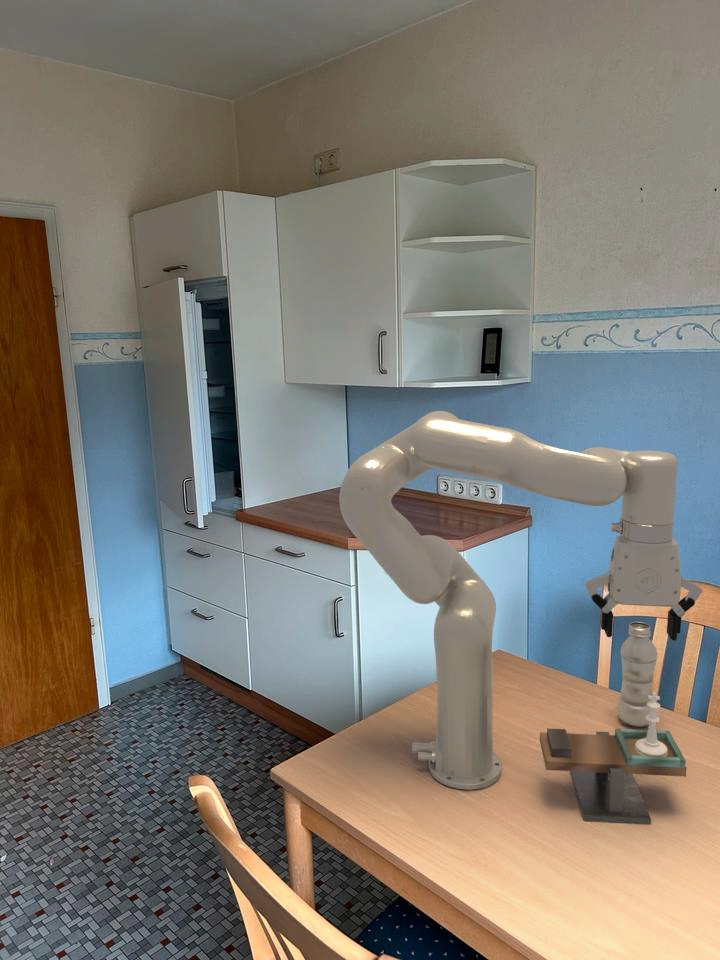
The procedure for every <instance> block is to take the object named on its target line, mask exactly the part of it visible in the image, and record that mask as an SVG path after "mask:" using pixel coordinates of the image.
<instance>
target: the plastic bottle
mask: <svg viewBox="0 0 720 960" xmlns="http://www.w3.org/2000/svg"><path fill="white" fill-rule="evenodd" d="M628 635H629V636H628V637H627V638H626V639H625V640H624V641H623V643H622V644H621V647H620V658H621V659H620V660H621V667H622V668H621V669H622V672H621V673H622V676H621V677H622V680H621V681H622V682H621V689H620V695H619V696H620V697H619V699H618V702H617V715H618V717H619V719H620V720H621V721H622V723H624V724H626V725H627V726H631V727H635V728H636V727H637V728H643V727H649V721H648V720H646V715H648V714H649V711H648V707H647V702H649V701H652V699H648V695H649V696H652V692H653V684H654V675H655V669H656V666H657V661H658V660H657V659H658V649H657V647H656V646H655V644H654V643H653V641H652V640H651V639H650V637H651V636H652V635H651V626H650V624H648V623H646V622H642V621H632V622H630V623H629V625H628Z"/></svg>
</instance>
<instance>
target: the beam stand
mask: <svg viewBox="0 0 720 960" xmlns="http://www.w3.org/2000/svg"><path fill="white" fill-rule="evenodd" d="M595 735H610V732H609V731H596V732H595ZM569 773H570V776H571V777H570V778H571V780H572V784H573V786H574V788H573V789H574V792H575V795H576V798H577V802H578V806H579V809H580V813H581V817H582V820H583V822H594V823H595V822H598V823H617V824H633V825H634V824H636V825H637V824H638V825H639V824H640V825H651V822H652V818H651V815H650V813H649V811H648V809H647V806H646V803H645V801H644V799H643V796H642V794H641V791H640V789H639V787H638V784H637V782H636V780H635V777H634V774H624V770H623V768H609V773H599V772H577V771H569Z"/></svg>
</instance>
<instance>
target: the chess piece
mask: <svg viewBox="0 0 720 960" xmlns="http://www.w3.org/2000/svg"><path fill="white" fill-rule="evenodd" d="M648 699H652V701H649V702H647V707H648V711H649V714H648V715H646V720H648V721H649V725H648V726H647V730H648V732H647V736H646V738H645V739H640V740H638V741H637V742H636V743H635V750H636V752H637V753H638V754H640V755H642V756H658V757H666V756H667V755H668V751H667V747H666V746H665V745H664V744H663V743H662V742H660V741H658V740H657V732H656V730H657V723H660V722H661V718H660V716H658V713H659V711H660V708H661V704H660V703H659V702H657V701H660V700H661V697H660V696H659V695H657V693H656V691H652V696H649V695H648Z"/></svg>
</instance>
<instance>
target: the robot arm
mask: <svg viewBox="0 0 720 960" xmlns="http://www.w3.org/2000/svg"><path fill="white" fill-rule="evenodd" d="M432 469H436V470H437V469H438V470H441V471H448V472H452V473H456V474H457V473H458V474H462V475H467V476H473V477H478V478H481V479H486V480H492V481H496V482H501V483H504V484H506V485H509V487H510V486H511V487H514V488H517V489H521V490H524V491H527V492H531V493H534V494H537V495H541V496H544V497H547V498H550V499H556V500H560V501H563V502H569V503H570V502H571V503H574V504H575V503H576V504H579V505H584V506H585V505H586V506H591V507H604V506H607V505H610V504H613V503H616V501H618V500H619V499H620V498H621V496H622V500H621V515H620V516H621V517H620V518H619V520H618V522H612V523H611V524H610V531H611V532H616V533H618V534H619V535H617V536H616V537H615V541H614V543H613V546H612V551H611V556H610V562H609V570H608V572H605V573H603V574H601V575H599V576H596V577H595V578H592V579H589V580H587V581H586V582H585V583H584V585H585V588H586V590H587V592H588V594H589V596H590V598H591V600H592V602H593V603H594V604H595V605H596V606H598V608H599V609H600V610H601V614H600V615H601V616H600V629H601V630H603V631H604V633H605V635H606V638H611V637H613V627H614V613H613V611H612V610H613V609H614V608H615V607H616V606H617V605H618V604H619V605H623V606H640V607H641V606H643V607H664V608H665V607H670V609H669V610H668V611H667V623H666V634H667V635H668V637H669V639H670V640H672V641H674V642H675V641H677V639H678V637H677V636H678V634H681V629H682V627H681V626H682V617H684V616H685V615H686V612H688V611H689V610H690V609H691V608H693V607H694V606H695V604H696V601H698V599H699V598H700V596H701V595H702V593H703V589H702V588H701V586H699V585H698V584H697V583H695V582H693V581H691V580H689V579H687V578H684V577H682V575H681V555H680V547H679V543H678V541H677V540H675V539H674V538H673V536H674V535H673V534H674V525H675V524H674V521H675V520H674V519H675V508H676V495H677V481H678V469H679V468H678V460H677V458H676V456H675V455H674V454H672V453H669V452H668V451H667V452H666V451H660V450H636V451H631V450H630V451H629V450H620V449H614V448H610V447H601V446H595V447H589V448H586V449H584V450H582V451H581V452H580V451H579V452H578V451H573V450H572V451H571V450H569V449H568V450H567V449H564V448H558V447H554V446H551V445H547V444H545V443H542V442H538V441H537V440H535V439H533V438H531V437H530V436H527V435H526V434H524V433H522V432H520V431H517V430H515V429H511V428H509V427H508V428H507V427H501V426H496V425H491V424H486V423H479V422H474V421H469V420H465V419H461V418H458V417H457V416H456V415H455V414H453V413H451V412H449V411H446V410H445V411H443V410H436V411H431V412H429V413H426V414H425V415H424V416H422V417H420V418H419V419H418V420H417V421H416V422H414V423H412V425H410V426H408V427H407V428H405V429H404V430H401V431H400V432H399V433H397V434H396V435H393V436H392V437H391V438H389V439H388V440H385V441H384V442H383V443H380V444H379V445H378V446H376V447H374V448H373V449H371V450H370V451H367V452H365V453H364V454H363V455H361V456H360V457H358V458H357V459H356V460H355V461H354V462H353V463H351V465H350V466H349V468H348V470H347V471H346V473H345V475H344V477H343V480H342V483H341V485H340V491H339V497H338V498H339V499H338V500H339V509H340V513H341V515H342V519H343V521H344V522H345V524H346V526H347V527H348V528H349V530H350V531H351V533H352V534H353V535H354V537H356V538H357V540H358V541H359V542H360V543H361V545H363V547H365V549H366V550H367V551H368V552H369V554H371V556H372V557H373V559H375V561H376V562H377V563H378V565H379V566H380V567H381V568H382V569H383V571H384V572H385V574H387V575H388V577H389V578H390V579H391V580H392V581H393V583H394V584H395V585H396V586H397V587H398V588H399V590H400V592H402V593H403V594H404V595H405V597H407V598H408V599H409V600H410V601H412V602H414V603H416V604H420V605H429V604H432V603H436V605H438V607H439V608H438V611H437V614H436V616H435V619H434V620H435V621H434V627H433V644H434V645H433V646H434V654H435V671H436V672H435V673H436V675H435V676H436V679H435V680H436V726H437V731H436V734H437V735H436V736H435V741H429V742H430V743H426V742H416V741H415V742H414V741H413V742H412V743H411V744H412V745H411V753H412V754H413V755H418V756H417V757H418V758H417V759H418V761H421V762H422V761H428V769H429V772H430V774H431V775H432V777H433V778H434V779H435V780H436V781H437V782H439V783H441V784H443V785H445V786H447V787H450V788H453V789H457V790H468V791H470V790H479V789H484V788H487V787H489V786H491V785H493V784H495V783H496V782H497V781H498V780H499V779H500V777H501V775H502V770H503V769H502V768H503V767H502V765H503V764H502V762H501V759H500V758H499V757H498V755H497V754H496V753H494V752H493V751H494V750H493V747H494V746H493V743H494V742H493V738H494V737H493V736H494V735H493V733H494V731H493V727H494V725H493V724H494V723H493V720H494V719H493V718H494V717H493V716H494V713H493V712H494V711H493V708H494V707H493V706H494V702H493V701H494V700H493V698H494V695H493V694H494V693H493V690H494V689H493V686H494V685H493V678H494V677H493V674H494V673H493V637H494V636H493V635H494V634H493V633H494V626H495V620H496V619H495V618H496V613H497V602H496V598H495V596H494V594H493V592H492V590H491V589H490V588H489V586H488V585H487V583H485V581H484V580H483V579H482V578H481V576H480V575H479V574H478V573H477V571H476V570H475V569H474V568H473V567H472V566H471V565H470V563H469V562H468V561H466V559H465V558H464V557H463V556H462V554H461V553H460V552H459V551H458V549H457V548H456V547H454V545H452V544H451V543H450V542H448V541H447V540H446V539H444V538H442V537H440V536H438V535H434V534H425V535H421V534H420V533H419V532H418V531H417V530H416V529H415V527H414V526H413V524H411V521H409V520H408V519H407V518H406V516H404V515H403V514H402V513H401V512H399V511H398V510H397V509H396V508H395V507H394V505H393V503H392V499H393V497H394V496H395V494H397V493H398V492H399V491H400V489H402V488H403V487H404V486H406V485H407V484H409V483H410V482H412V481H414V480H416V479H417V478H419V477H420V476H422V475H423V474H426V473H427V472H429V471H430V470H432ZM605 585H607V591H608V593H607V594H606V595H604V596H603V597H602V595H600V594H599V593H598V590H597V589H599V588H600V587H603V586H605ZM681 588H683V589H685V590H687V591H688V592H687V594H686V595H685V596H684V597H683V598H681Z"/></svg>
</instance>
